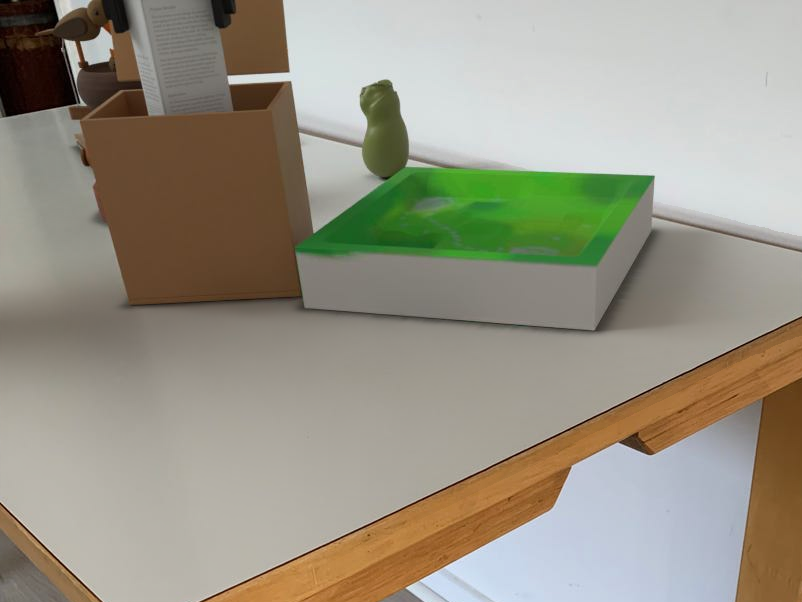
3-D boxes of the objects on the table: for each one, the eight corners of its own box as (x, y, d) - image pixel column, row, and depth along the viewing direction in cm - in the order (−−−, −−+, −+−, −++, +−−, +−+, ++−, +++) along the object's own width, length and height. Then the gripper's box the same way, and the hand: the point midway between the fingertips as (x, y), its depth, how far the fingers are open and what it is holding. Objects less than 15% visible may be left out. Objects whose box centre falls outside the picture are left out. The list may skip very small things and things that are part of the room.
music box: (76, 232, 102) (14, 5, 91) (96, 211, 111) (41, 2, 100) (223, 218, 104) (179, -7, 92) (231, 199, 113) (192, -9, 101)
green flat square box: (651, 231, 94) (654, 175, 91) (594, 330, 76) (596, 265, 73) (409, 219, 101) (405, 166, 98) (304, 307, 83) (294, 247, 80)
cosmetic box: (216, 122, 85) (187, -46, 77) (237, 131, 82) (209, -43, 74) (149, 133, 82) (112, -41, 74) (169, 142, 79) (132, -37, 72)
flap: (106, 3, 83) (108, 4, 83) (117, 80, 85) (119, 81, 85) (281, -7, 83) (282, -5, 83) (289, 71, 84) (289, 72, 85)
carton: (129, 305, 85) (79, 120, 76) (161, 259, 94) (120, 90, 85) (301, 296, 85) (271, 110, 76) (316, 251, 94) (291, 80, 85)
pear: (395, 184, 111) (386, 85, 105) (355, 181, 113) (344, 83, 107) (419, 172, 115) (411, 75, 109) (380, 168, 117) (370, 73, 111)
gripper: (-38, -277, 63) (49, 41, 74) (230, -291, 63) (277, 30, 74) (4, -267, 69) (79, 27, 80) (249, -279, 69) (290, 16, 80)
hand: (174, 26), depth 77 cm, fingers open, 7 cm apart
